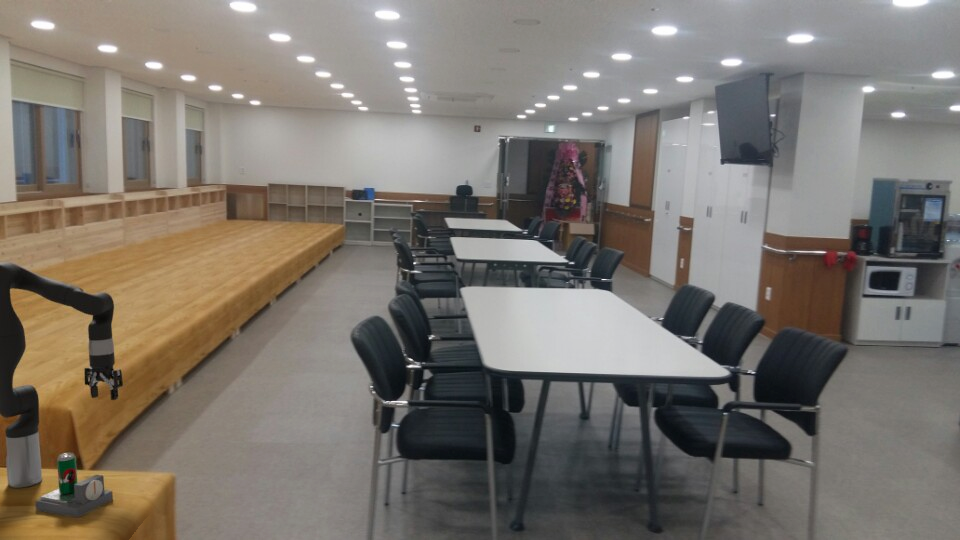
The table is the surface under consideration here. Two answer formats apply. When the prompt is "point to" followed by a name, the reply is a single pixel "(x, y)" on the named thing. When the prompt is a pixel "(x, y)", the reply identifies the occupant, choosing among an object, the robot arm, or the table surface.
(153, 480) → the table surface
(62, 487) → the soda can
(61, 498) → the scale platform
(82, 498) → the scale base
